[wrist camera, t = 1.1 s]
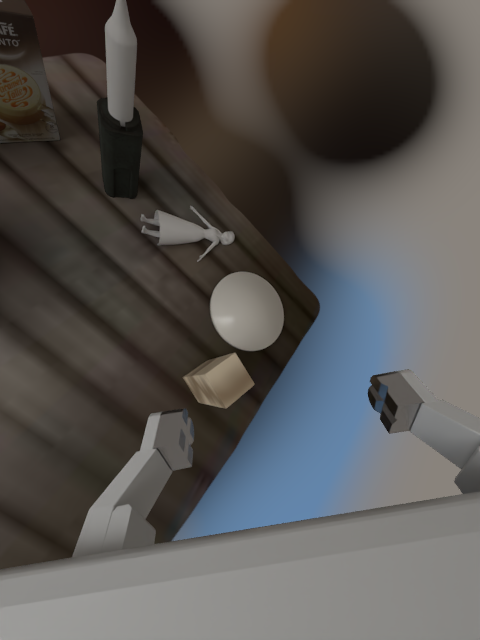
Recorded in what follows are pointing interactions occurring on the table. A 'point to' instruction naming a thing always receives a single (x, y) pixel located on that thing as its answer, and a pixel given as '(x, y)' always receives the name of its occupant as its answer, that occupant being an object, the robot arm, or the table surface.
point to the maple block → (219, 381)
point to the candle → (120, 109)
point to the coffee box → (23, 79)
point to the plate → (246, 311)
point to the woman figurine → (184, 231)
